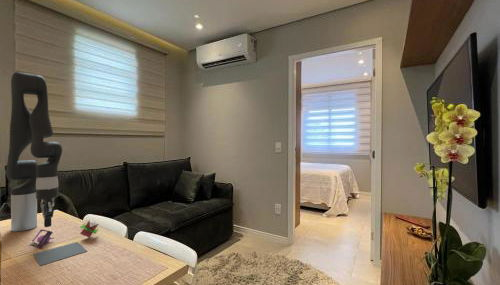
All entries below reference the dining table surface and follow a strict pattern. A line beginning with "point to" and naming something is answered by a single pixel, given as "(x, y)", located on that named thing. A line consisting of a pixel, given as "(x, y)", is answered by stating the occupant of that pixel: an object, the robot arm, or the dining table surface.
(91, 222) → the geometric puzzle
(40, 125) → the robot arm
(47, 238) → the game card
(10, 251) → the dining table surface
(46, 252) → the mat
